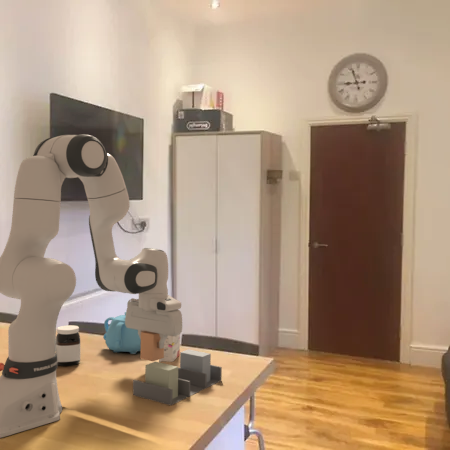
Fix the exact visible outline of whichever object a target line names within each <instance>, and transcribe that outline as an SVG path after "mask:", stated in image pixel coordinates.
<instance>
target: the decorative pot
mask: <svg viewBox="0 0 450 450" xmlns="http://www.w3.org/2000/svg"><path fill="white" fill-rule="evenodd" d="M125 317H126V311H125V312H124V314H121V315H118V316H115V317H114V316H110V317H108V318H106V319H105V320H104V323H103V325H104V329H105V333H104V334H103V339H104V340H105V345H106V347H107V349H109V350H111V351H112V352H113V353H120V352H122V353H123V352H125V353H126V352H127V353H129V354H130V355H136V354H138V352H141V339H140V337H139V335H138V330H136V329H131V328H127V327H126V325H125ZM109 321H110V324H109Z"/></svg>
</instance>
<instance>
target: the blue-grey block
mask: <svg viewBox="0 0 450 450" xmlns="http://www.w3.org/2000/svg"><path fill="white" fill-rule="evenodd" d="M179 356H180V357H179V358H180V359H179V363H180V365H179V368H183V369H187V370H192V371H196V372H201V373H205V374H207V382H209V381H210V366H211V365H212V364H211V363H212V362H211V358H212V355H211V353H208V352H204V351H200V350H194V349H189V348H188V349H185V350H183V351H180V355H179Z"/></svg>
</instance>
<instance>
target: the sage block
mask: <svg viewBox="0 0 450 450" xmlns="http://www.w3.org/2000/svg"><path fill="white" fill-rule="evenodd" d="M178 367H179V366H176V365H173V364H169V363H168V364H167V363H163V362H159V361H152V362H150V363H148V364H145V373H144V374H145V375H144V377H145V379H144V380H145V381H144V382H146V383H150V384H154V385H158V386H162V387H166V388H170V389H173V397H172V399H173V398H175V397H178Z"/></svg>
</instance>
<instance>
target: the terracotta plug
mask: <svg viewBox="0 0 450 450" xmlns="http://www.w3.org/2000/svg"><path fill="white" fill-rule="evenodd" d="M160 339H161V337H160V334H158V333H152V332H147V331H145V332H141V351H140V355H139V356H140V359H141V360H146V361H150V362H157V361H159V359H162V358H164V348H162V349H160V348H157V342H159V341H160Z"/></svg>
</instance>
